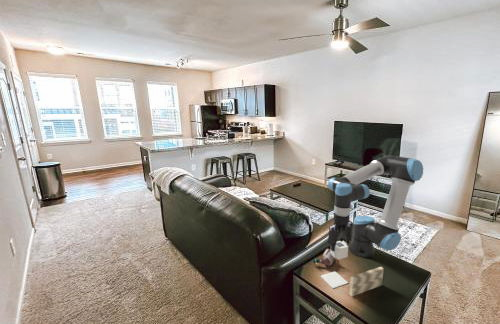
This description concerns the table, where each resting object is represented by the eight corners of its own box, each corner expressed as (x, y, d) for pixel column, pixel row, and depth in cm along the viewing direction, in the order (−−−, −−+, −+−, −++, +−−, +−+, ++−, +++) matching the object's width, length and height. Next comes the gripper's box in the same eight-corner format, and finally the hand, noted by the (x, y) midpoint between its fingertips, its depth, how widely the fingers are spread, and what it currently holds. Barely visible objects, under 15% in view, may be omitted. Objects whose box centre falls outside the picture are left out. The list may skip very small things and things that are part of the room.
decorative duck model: (313, 259, 134) (309, 244, 148) (314, 271, 136) (310, 254, 150) (340, 258, 132) (333, 243, 147) (340, 270, 134) (334, 253, 148)
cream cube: (339, 250, 127) (340, 240, 126) (347, 256, 122) (348, 246, 120) (330, 253, 125) (331, 242, 124) (338, 259, 119) (339, 248, 118)
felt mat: (335, 271, 133) (335, 271, 133) (348, 283, 124) (348, 282, 124) (320, 276, 129) (320, 275, 129) (332, 288, 120) (332, 288, 120)
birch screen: (379, 283, 123) (380, 266, 121) (381, 285, 122) (383, 268, 120) (349, 294, 116) (350, 276, 114) (351, 296, 115) (353, 278, 113)
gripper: (350, 208, 125) (347, 247, 130) (321, 213, 119) (319, 254, 123) (361, 213, 119) (358, 254, 123) (331, 219, 112) (329, 263, 116)
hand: (338, 254), depth 123 cm, fingers closed on cream cube, 6 cm apart
